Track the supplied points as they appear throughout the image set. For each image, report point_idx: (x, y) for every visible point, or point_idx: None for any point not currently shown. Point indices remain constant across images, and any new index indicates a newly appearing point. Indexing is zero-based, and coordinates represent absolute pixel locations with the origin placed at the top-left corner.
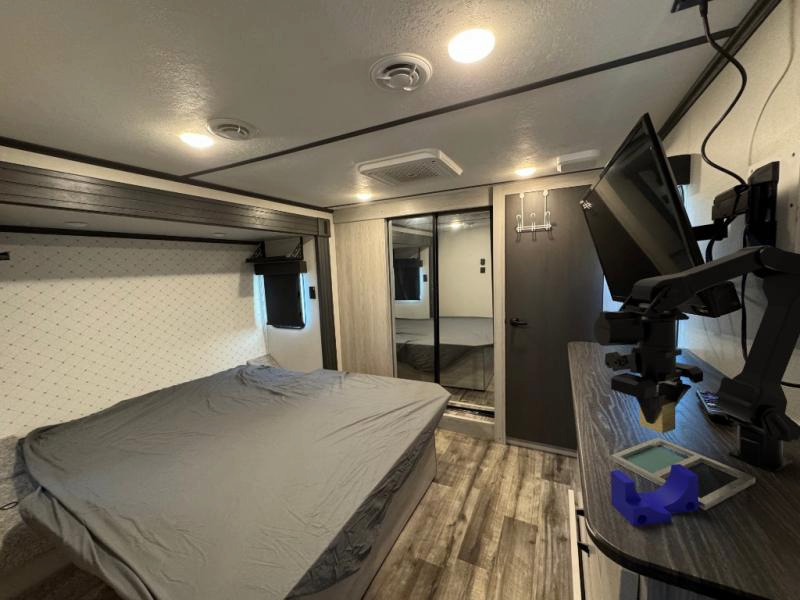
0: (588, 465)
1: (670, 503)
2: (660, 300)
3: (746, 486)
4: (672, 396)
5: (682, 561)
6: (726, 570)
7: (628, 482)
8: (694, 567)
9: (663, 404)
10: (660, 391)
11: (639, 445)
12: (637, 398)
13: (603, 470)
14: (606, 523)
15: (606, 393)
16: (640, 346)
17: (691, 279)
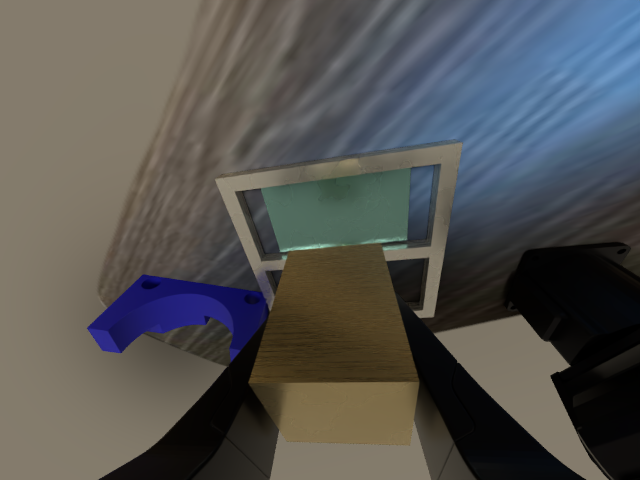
0: (145, 175)
1: (218, 319)
2: None
3: None
4: (433, 471)
5: (181, 341)
6: (217, 353)
7: (109, 351)
8: (188, 346)
9: (312, 438)
10: (455, 461)
11: (344, 164)
12: (176, 433)
13: (175, 203)
14: (118, 294)
15: None
16: None
17: None
